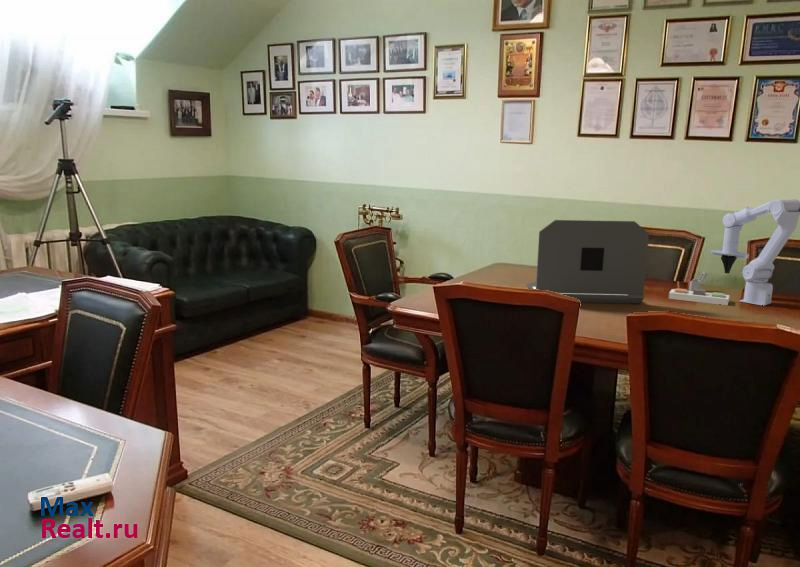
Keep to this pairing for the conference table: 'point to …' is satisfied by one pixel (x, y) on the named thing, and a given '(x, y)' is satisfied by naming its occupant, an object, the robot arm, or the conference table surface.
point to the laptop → (593, 260)
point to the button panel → (699, 297)
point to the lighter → (696, 282)
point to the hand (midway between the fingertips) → (727, 273)
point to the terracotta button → (681, 290)
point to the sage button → (718, 294)
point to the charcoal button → (699, 292)
